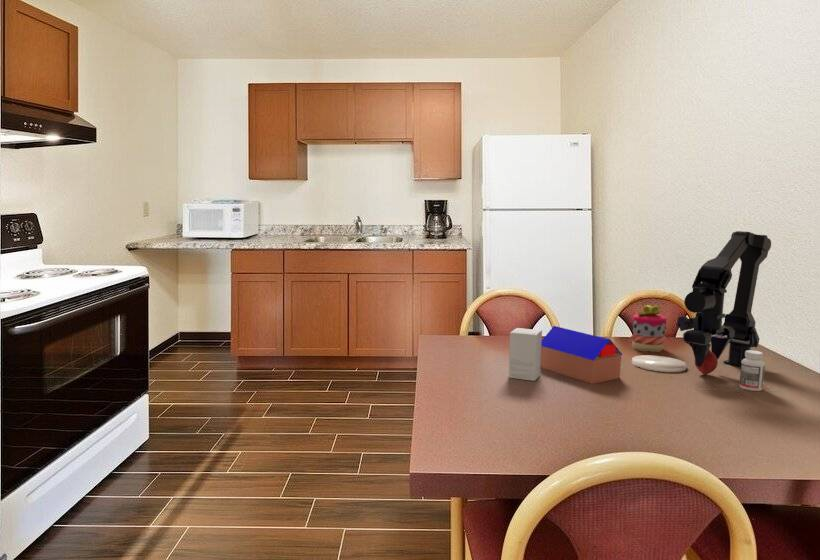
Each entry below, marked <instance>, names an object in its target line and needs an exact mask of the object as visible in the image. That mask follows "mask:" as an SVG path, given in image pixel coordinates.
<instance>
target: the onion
mask: <svg viewBox="0 0 820 560" xmlns="http://www.w3.org/2000/svg"><path fill="white" fill-rule="evenodd" d="M718 360H719V359H718ZM718 360H717V357H716V356H715V354H714V353H713V352H712V351H711V350H710V349H709V350H708V352H707V355H706V357H705V359H704V362H703V364H702V366H701V367H699V366H697V365H696V361H695V360H694V365H695V367H696V369H697V370H698V371H699V372H700V373H701V374H702V375H704V376H707V375H709V374H711V373H712V372H714V371H715V370H716V369H717V367H718V364H719V363H718V362H719V361H718Z"/></svg>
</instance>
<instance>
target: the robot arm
mask: <svg viewBox="0 0 820 560" xmlns="http://www.w3.org/2000/svg"><path fill="white" fill-rule="evenodd" d="M771 247H772V240H771V239H770V238H768V235H766V234H758V233H757V234H755V233H753V232H750V231H741V230H739V231H738V230H736V231H733V232H732V233H731V236H730V238H729V240H728V241H727V243H726V244H725V245H724V246H723V248H722V250H720V252H719V253H718V254H717V256H715V257H714V258H711V259H708V260H707V261H706V262H705V263H703V264H702V265H701V266H700V268H699V269H698V272H697V273H696V276H695V279H694V280H693V283H692V286H691V288H692V291H690V292H689V293H687V294H686V295H685V298H684V300H683V301H684V305H685V308H686V309H687V310H688V312H689V313H690V312H691V313H694V314H695V317H690V318H688V316H686V315H683V316H678V317H677V320H676V324H675V325H676V327H678V329H679V331H680V332H683V331H685V332H684V333H683V334H682V341H684V343H685V344H688V345H689V346H690V347H691V349H692V353H693V356H694V362H695V361H696V365H697V366H699V367H701V366H702V364H703V362H704V359H705V357H706V355H707V352H708V350H710V349H711V350H710V351H711V352H713V353H714V354H715V356H716V357H717V360H719V359H720V357H721V355H722V354H723V352H724V351H725V350H726V348H727V346H728V344H729V346H728V355H727V356H728V358H727V359H724V360H723V362H722V363H724V364H728V365H734V366H738V367H741V362H742V360H743V359H745V358H746V357H745V351H747V350H751V349H752V348H758V346H759V343H760V337H759V334H758V332H757V328H756V320H755V318H754V316H753V314H752V309H753V304H754V303H753V302H754V298H755V292H756V287H757V282H758V281H757V280H758V275H759V267H760V265H761V264H762V263H763V261H765V260H766V259H767V258H768V254H769V251H770V250H771ZM739 259H740V262H741V264H740V270H739V275H738V281H737V286H736V290H735V291H736V292H735V298H734V303H733V309H732V310H731V311H730V312H729V313H727V314H726V313H724V312H723V311H724V304H725V294H726V293H727V291H728V290H727V286H729V283H730V281H731V280H732V279H733V278H732V277H733V273H732V269H733V267H734V266H735V264H736V263H737V262H738V261H739ZM723 319H724V321H723ZM696 365H695V366H696Z"/></svg>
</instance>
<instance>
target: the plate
mask: <svg viewBox="0 0 820 560" xmlns="http://www.w3.org/2000/svg"><path fill="white" fill-rule="evenodd" d="M631 364H632V365H633V366H635V367H637V368H639V367H640V369H643V370H647V371H652V370H653V372H658V371H659V372H660V373H681V372H684V371H686V370H687V365H688V364H687V363H686V362H685V361H683V360H680V359H679V358H678V359H677V358H674V357H669V356H663V355H661V356H660V355H652V354H651V355H648V354H647V355H645V354H644V355H641V354H640V355H635V356H632V358H631ZM659 372H658V373H659Z"/></svg>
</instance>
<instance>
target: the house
mask: <svg viewBox="0 0 820 560" xmlns="http://www.w3.org/2000/svg"><path fill="white" fill-rule="evenodd" d="M542 338H543V339H542V343H541V366H540V369H541V368H542V369H545V370H548V371H551V372H554V373H558V374H561V375H563V376H567V377H570V378H572V379H576V380H579V381H582V382H585V383H588V384H591V385H592V384H597V383H602V382H607V381H612V380H613V381H614V380H616V379H620V378H621V377H620V376H621V366H622V365H621V363H622V356H623V353H622V352H621V351H620V350H619V348H618V347H617V346H616V344H614V342H613V341H612V340H611V339H610V338H606V337H602V336H597V335H593V334H589V333H584V332H581V331H577V330H573V329H568V328H565V327H560V326H556V325H553V326H552V327H551V329H550V330H549V331H548V332H547V334H546V335H545V336H544V337H542Z"/></svg>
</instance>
